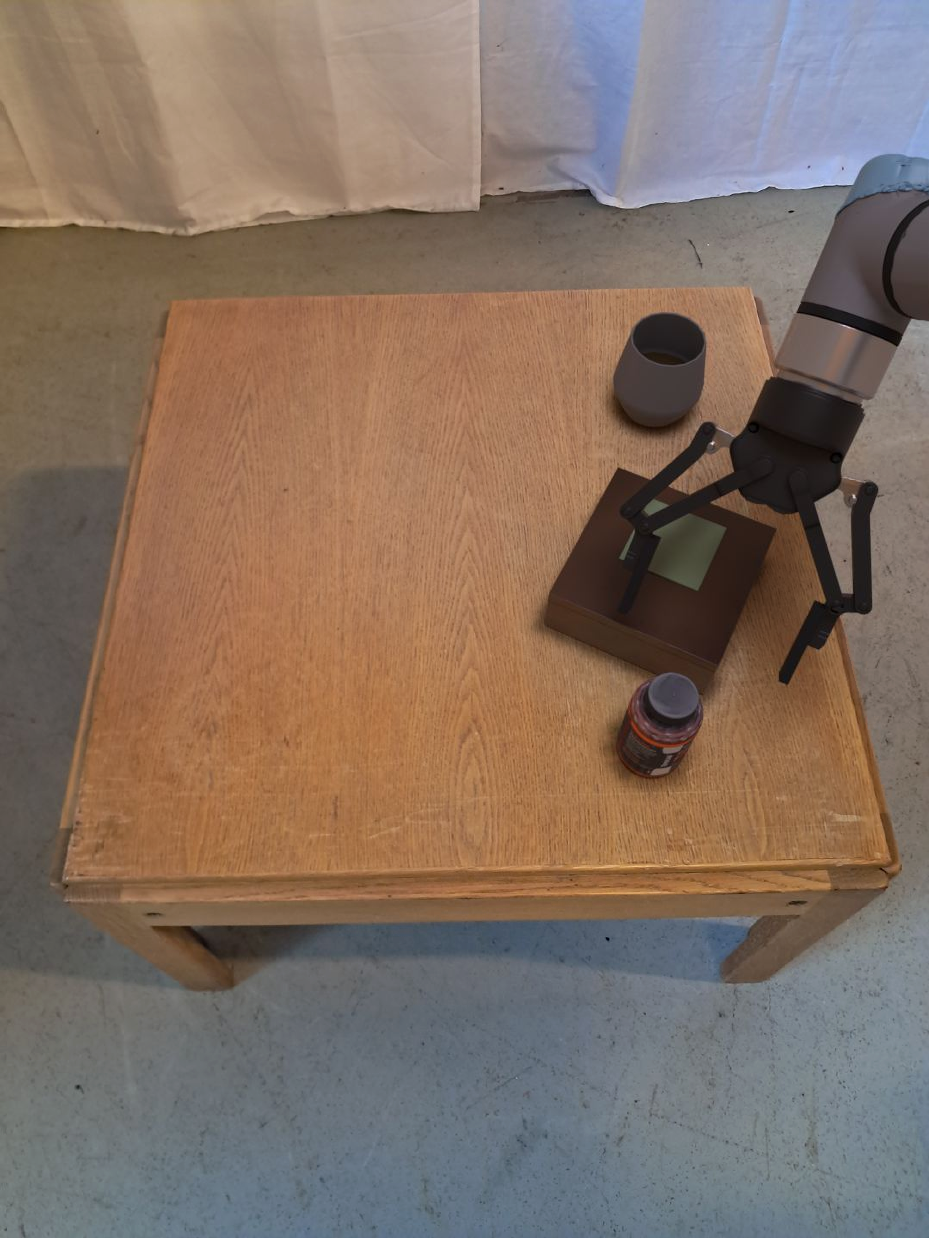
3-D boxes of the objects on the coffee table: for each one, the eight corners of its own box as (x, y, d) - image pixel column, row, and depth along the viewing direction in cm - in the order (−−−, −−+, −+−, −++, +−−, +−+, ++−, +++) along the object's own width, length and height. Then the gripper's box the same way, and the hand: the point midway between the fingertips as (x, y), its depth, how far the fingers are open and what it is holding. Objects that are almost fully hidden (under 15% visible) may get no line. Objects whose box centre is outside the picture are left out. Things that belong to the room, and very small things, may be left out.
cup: (604, 435, 98) (617, 367, 89) (611, 371, 102) (624, 301, 94) (693, 445, 97) (715, 378, 88) (696, 380, 102) (717, 310, 93)
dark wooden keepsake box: (759, 563, 90) (777, 527, 84) (703, 695, 83) (719, 665, 78) (610, 503, 94) (618, 465, 88) (544, 625, 87) (548, 592, 81)
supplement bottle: (676, 788, 79) (704, 740, 69) (609, 769, 80) (627, 719, 70) (688, 726, 82) (717, 672, 72) (623, 708, 83) (643, 652, 73)
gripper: (982, 447, 67) (851, 695, 74) (666, 336, 73) (571, 575, 80) (1003, 452, 61) (856, 724, 67) (652, 329, 66) (550, 591, 73)
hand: (701, 644), depth 74 cm, fingers open, 13 cm apart
